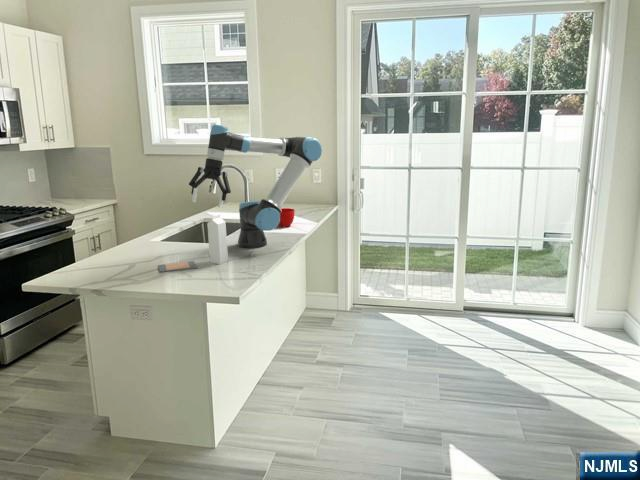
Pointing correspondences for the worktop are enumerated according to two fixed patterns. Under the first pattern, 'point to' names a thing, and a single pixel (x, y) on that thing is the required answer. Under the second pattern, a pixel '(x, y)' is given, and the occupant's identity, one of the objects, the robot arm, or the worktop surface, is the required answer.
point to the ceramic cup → (286, 217)
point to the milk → (217, 240)
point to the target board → (177, 266)
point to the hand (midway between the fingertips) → (206, 204)
